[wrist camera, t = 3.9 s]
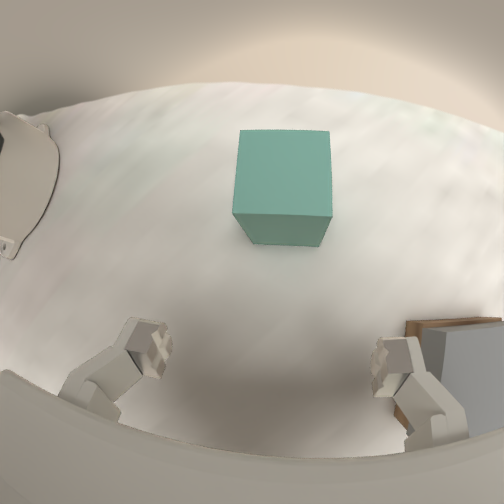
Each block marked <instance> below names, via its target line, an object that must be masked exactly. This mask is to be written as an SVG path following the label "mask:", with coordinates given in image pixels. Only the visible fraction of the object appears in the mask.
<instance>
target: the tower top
mask: <svg viewBox="0 0 504 504" xmlns="http://www.w3.org/2000/svg"><path fill="white" fill-rule="evenodd" d="M421 352H422V356H423V360H424V364H425V368H426V372H431V374H432V375H433V376H434V377H435V378H436V379H437V380H438V381H439V382H440V383H441V384H442V385H443V386H444V387H445V388H446V389H447V390H448V392H449V393H450V394H451V395H452V396H453V397H454V398H455V399H456V400H457V401H458V402H459V403H460V405H461V406H462V407H463V408H464V410H465V415H466V420H467V425H468V431H469V437H470V438H472V437H475V436H478V435H481V434H485V433H488V432H491V431H493V430H496V429H499V428H502V427H504V321H497V322H488V323H479V324H469V325H458V326H446V327H431V328H422V340H421ZM413 432H415V430H414V428H413V427H412V425H411V424H410V422H409V424H408V429H407V433H406V434H407V435H408V436H410V435H411V434H412V433H413Z"/></svg>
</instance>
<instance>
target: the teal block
mask: <svg viewBox="0 0 504 504" xmlns="http://www.w3.org/2000/svg"><path fill="white" fill-rule="evenodd" d="M232 214H233V215H234V217H235V218H236V219H237V221H238V222H239V224H240V225H241V227H242V228H243V230H244V231H245V232H246V234H247V235H248V237H249V238H250V240H251V241H252V242H253V244H264V245H289V246H312V247H319V245H320V243H321V241H322V239H323V237H324V234H325V232H326V230H327V228H328V225H329V223H330V221H331V219H332V172H331V150H330V133H329V131H312V130H240V137H239V147H238V156H237V166H236V177H235V187H234V198H233V209H232Z"/></svg>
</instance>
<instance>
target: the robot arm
mask: <svg viewBox="0 0 504 504" xmlns="http://www.w3.org/2000/svg"><path fill="white" fill-rule="evenodd" d="M58 166H59V153H58V148H57V146H56V144H55V142H54V141H53V140H52V139H51V138H50V136H49V128H48V126H47V125H45V124H40V125H38V126H37V127H35V126H33V125H31V124H29V123H28V122H26V121H24V120H23V119H21V118H19V117H17V116H16V115H14V114H12V113H10V112H8V111H4V112H1V113H0V255H2V256H3V257H5V258H7V259H10V260H12V259H13V258H14V257H15V255H16V253H17V251H18V249H19V247H20V245H21V243H22V241H23V240H24V238H25V237H26V236H27V235H28V234H29V233H30V232H31V231H32V229H33V228H34V227H35V226H36V224H37V223H38V221H39V219H40V218H41V216H42V214H43V212H44V210H45V208H46V206H47V204H48V202H49V199H50V197H51V194H52V191H53V188H54V185H55V182H56V178H57V173H58ZM167 329H168V328H167V326H166V324H165V323H162V322H156V321H151V320H145V319H140V318H135V317H131V318H129V319H128V320H127V322H126V324H125V326H124V328H123V329H122V331H121V333H120V335H119V337H118V338H117V340H116V342H115V344H114V346H113V347H112V346H110V347H108V348H107V349H105V350H104V351H102V352H101V353H99V354H98V355H96V356H95V357H93V358H91V359H90V360H88V361H87V362H85V363H84V364H82V365H81V366H79V367H78V368H76V369H75V370H73V371H72V372H70V374H69V376H68V377H67V379H66V381H65V383H64V385H63V387H62V389H61V391H60V392H59V394H58V396H55V395H53V394H51V393H49V392H47V391H46V390H44V389H42V388H40V387H38V386H36V385H35V384H33V383H31V382H29V381H28V380H26V379H24V378H23V377H21V376H19V375H18V374H16V373H14V372H13V371H11V370H7V369H6V370H3V371H1V372H0V504H504V427H502V428H499V429H496V430H493V431H491V432H488V433H485V434H481V435H478V436H475V437H472V438H470V437H469V431H468V425H467V420H466V415H465V410H464V408H463V407H462V406H461V405H460V403H459V402H458V401H457V400H456V399H455V398H454V397H453V396H452V395H451V394H450V393H449V392H448V390H447V389H446V388H445V387H444V386H443V385H442V384H441V383H440V382H439V381H438V380H437V379H436V378H435V377H434V376H433V375H432V374H431V372H426V368H425V364H424V360H423V356H422V352H421V348H420V344H419V341H418V338H417V337H415V336H414V337H380V338H379V339H378V341H377V348H376V349H375V350H373V353H372V355H371V361H370V370H371V374H372V375H373V376H374V377H375V378H374V380H373V382H372V390H373V398H380V397H393V399H394V400H395V402H396V403H397V405H398V406H399V408H400V409H401V410H402V412H403V413H404V415H405V416H406V418H407V419H408V421H409V422H410V424H411V425H412V427H413V428H414V430H415V432H413V433H412V434H411V435H410V436H409V437H407V438H406V440H405V441H404V444H405V452H403V453H396V454H388V455H379V456H368V457H353V458H290V457H275V456H264V455H255V454H246V453H239V452H232V451H226V450H220V449H214V448H209V447H204V446H199V445H194V444H190V443H185V442H181V441H177V440H173V439H169V438H165V437H162V436H158V435H155V434H151V433H148V432H145V431H141V430H138V429H135V428H132V427H129V426H126V425H123V424H121V423H118V420H119V417H120V414H121V411H120V409H119V408H118V407H117V406H116V405H115V404H114V403H113V402H115V401H116V400H117V399H118V398H119V397H120V396H121V395H123V394H124V393H125V392H126V391H127V390H128V389H129V388H130V387H132V386H133V385H134V384H135V383H136V382H137V381H138V380H140V379H141V378H142V377H143V376H142V375H144V376H148V377H153V378H158V379H161V378H162V375H163V372H164V370H165V367H166V364H165V360H166V359H168V358H169V357H170V355H171V352H172V345H173V344H172V338H171V336H170V335H169V334H168V333H167V332H166V331H167Z"/></svg>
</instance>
